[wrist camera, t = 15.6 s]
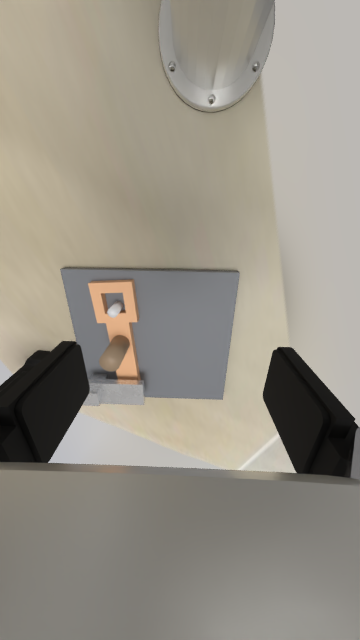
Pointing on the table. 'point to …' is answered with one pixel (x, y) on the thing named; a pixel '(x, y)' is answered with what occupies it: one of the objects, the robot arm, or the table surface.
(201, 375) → the pintle board
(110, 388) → the keeper
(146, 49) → the table surface
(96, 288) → the link
